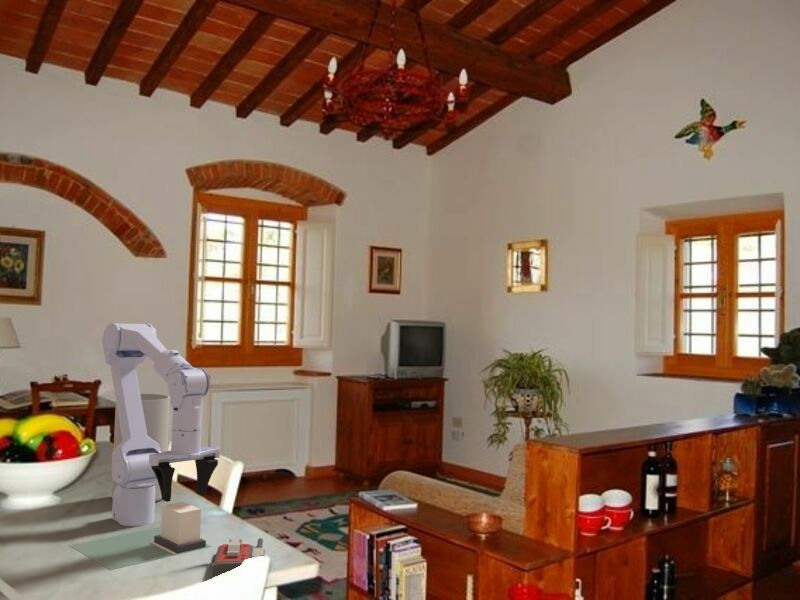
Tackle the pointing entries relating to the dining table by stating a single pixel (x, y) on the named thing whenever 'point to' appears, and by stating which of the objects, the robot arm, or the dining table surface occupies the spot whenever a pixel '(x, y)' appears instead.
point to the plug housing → (180, 523)
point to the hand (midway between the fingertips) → (183, 497)
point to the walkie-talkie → (234, 555)
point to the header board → (134, 548)
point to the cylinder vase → (150, 426)
